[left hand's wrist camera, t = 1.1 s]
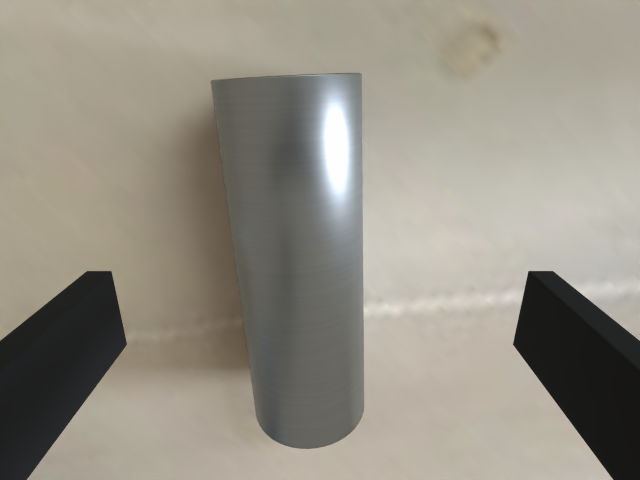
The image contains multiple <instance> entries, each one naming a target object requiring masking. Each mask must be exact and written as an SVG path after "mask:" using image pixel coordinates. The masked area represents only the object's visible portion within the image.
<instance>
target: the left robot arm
mask: <svg viewBox="0 0 640 480" xmlns="http://www.w3.org/2000/svg"><path fill="white" fill-rule="evenodd" d="M126 345H127V343H126V338H125V333H124V329H123V324H122V319H121V314H120V310H119V305H118V300H117V295H116V291H115V286H114V281H113V276H112V272H111V271H87V272H85V273H84V274H83V275H82V276H81V277H79V278H78V279H77V280H76V281H74V282H73V283H72V284H71V285H69V286H68V287H67V288H66V289H64V290H63V291H62V292H61V293H59V294H58V295H57V296H56V297H54V298H53V299H52V300H51V301H49V302H48V303H47V304H46V305H44V306H43V307H42V308H41V309H39V310H38V311H37V312H36V313H34V314H33V315H32V316H31V317H29V318H28V319H27V320H26V321H25V322H23V323H22V324H21V325H20V326H18V327H17V328H16V329H15V330H13V331H12V332H11V333H10V334H8V335H7V336H6V337H5V338H3V339H2V340H1V341H0V480H27V478H28V477H29V476H30V474H31V473H32V472H33V470H34V469H35V468H36V466H37V465H38V464H39V462H40V461H41V460H42V458H43V457H44V456H45V454H46V453H47V452H48V450H49V449H50V447H51V446H52V445H53V443H54V442H55V441H56V439H57V438H58V437H59V435H60V434H61V433H62V431H63V430H64V429H65V427H66V426H67V425H68V423H69V422H70V420H71V419H72V418H73V416H74V415H75V414H76V412H77V411H78V410H79V408H80V407H81V406H82V404H83V403H84V402H85V400H86V399H87V398H88V396H89V395H90V394H91V392H92V391H93V389H94V388H95V387H96V385H97V384H98V383H99V381H100V380H101V379H102V377H103V376H104V375H105V373H106V372H107V371H108V369H109V368H110V367H111V365H112V364H113V363H114V361H115V360H116V358H117V357H118V356H119V354H120V353H121V352H122V350H123V349H124V348H125V346H126ZM513 345H514V346H515V348H516V349H517V350H518V352H519V353H520V354H521V356H522V357H523V358H524V360H525V361H526V363H527V364H528V365H529V367H530V368H531V369H532V371H533V372H534V373H535V375H536V376H537V377H538V379H539V380H540V381H541V383H542V384H543V385H544V387H545V388H546V389H547V391H548V392H549V394H550V395H551V396H552V398H553V399H554V400H555V402H556V403H557V404H558V406H559V407H560V408H561V410H562V411H563V412H564V414H565V415H566V416H567V418H568V419H569V420H570V422H571V423H572V425H573V426H574V427H575V429H576V430H577V431H578V433H579V434H580V435H581V437H582V438H583V439H584V441H585V442H586V443H587V445H588V446H589V447H590V449H591V450H592V452H593V453H594V454H595V456H596V457H597V458H598V460H599V461H600V462H601V464H602V465H603V466H604V468H605V469H606V470H607V472H608V473H609V474H610V476H611V477H612V478H613V480H640V341H639V340H638V339H637V338H635V337H634V336H633V335H632V334H630V333H629V332H628V331H627V330H625V329H624V328H623V327H622V326H620V325H619V324H618V323H617V322H615V321H614V320H613V319H612V318H611V317H609V316H608V315H607V314H606V313H604V312H603V311H602V310H601V309H599V308H598V307H597V306H596V305H594V304H593V303H592V302H591V301H589V300H588V299H587V298H586V297H584V296H583V295H582V294H581V293H579V292H578V291H577V290H576V289H574V288H573V287H572V286H571V285H569V284H568V283H567V282H566V281H564V280H563V279H562V278H561V277H559V276H558V275H557V274H556V273H555V272H553V271H529V272H528V276H527V281H526V286H525V291H524V295H523V300H522V305H521V310H520V314H519V319H518V324H517V329H516V333H515V338H514V343H513Z"/></svg>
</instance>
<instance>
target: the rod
mask: <svg viewBox="0 0 640 480" xmlns="http://www.w3.org/2000/svg"><path fill="white" fill-rule="evenodd" d="M211 87H212V95H213V102H214V109H215V117H216V124H217V131H218V139H219V146H220V153H221V161H222V168H223V175H224V183H225V190H226V197H227V205H228V212H229V219H230V227H231V234H232V241H233V249H234V256H235V263H236V271H237V278H238V285H239V293H240V300H241V307H242V315H243V322H244V329H245V337H246V344H247V351H248V359H249V366H250V373H251V381H252V388H253V395H254V403H255V410H256V416H257V420H258V423H259V425H260V427H261V428H262V430H263V431H264V432H265V433H266V434H267V435H268V436H269V437H270V438H272V439H273V440H275V441H276V442H278V443H281V444H283V445H286V446H289V447H293V448H300V449H311V448H319V447H324V446H327V445H331V444H333V443H335V442H338V441H339V440H341V439H343V438H344V437H346V436H347V435H348V434H350V433H351V432H352V431H353V430H354V429H355V427H356V426H357V425H358V423H359V422H360V420H361V418H362V415H363V411H364V315H363V183H362V74H361V73H332V74H306V75H285V76H265V77H248V78H232V79H219V80H212V81H211Z"/></svg>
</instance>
